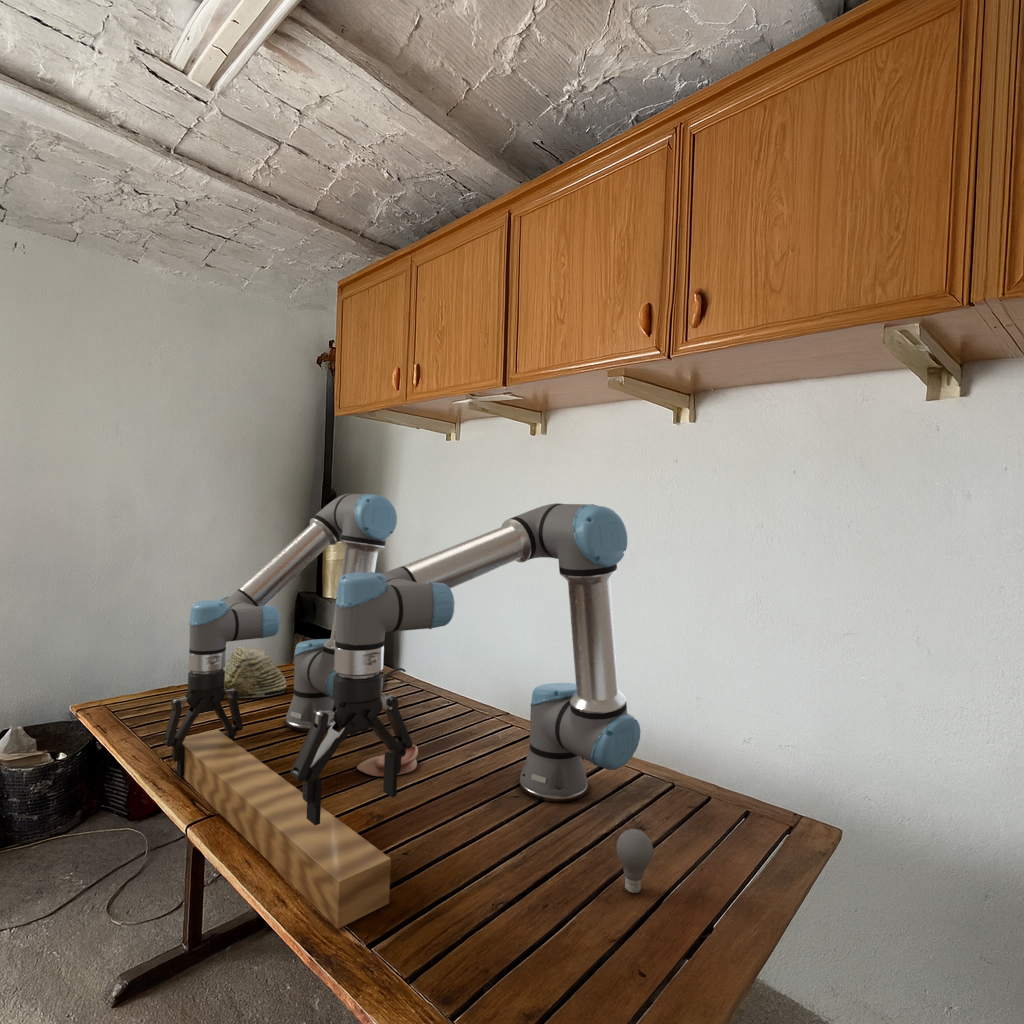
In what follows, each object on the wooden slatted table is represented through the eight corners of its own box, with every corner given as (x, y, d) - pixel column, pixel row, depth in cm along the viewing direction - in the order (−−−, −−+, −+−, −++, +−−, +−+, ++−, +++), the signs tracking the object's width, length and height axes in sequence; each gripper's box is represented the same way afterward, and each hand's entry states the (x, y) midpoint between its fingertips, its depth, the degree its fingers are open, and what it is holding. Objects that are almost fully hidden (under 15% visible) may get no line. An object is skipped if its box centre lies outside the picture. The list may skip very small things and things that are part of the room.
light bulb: (610, 879, 108) (613, 822, 108) (644, 879, 109) (647, 822, 109) (619, 902, 102) (622, 840, 102) (655, 901, 103) (658, 840, 103)
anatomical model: (351, 756, 145) (372, 738, 156) (350, 773, 145) (371, 754, 156) (406, 763, 142) (423, 744, 154) (405, 780, 143) (422, 760, 154)
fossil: (218, 695, 195) (220, 647, 195) (278, 685, 208) (279, 640, 207) (228, 703, 189) (230, 653, 188) (289, 692, 201) (290, 645, 201)
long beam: (175, 770, 143) (176, 738, 143) (216, 759, 150) (217, 729, 150) (337, 929, 93) (339, 881, 93) (389, 903, 100) (391, 858, 100)
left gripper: (159, 682, 133) (155, 788, 133) (261, 666, 148) (257, 761, 149) (148, 674, 138) (144, 776, 139) (248, 659, 154) (244, 751, 154)
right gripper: (294, 693, 87) (288, 845, 88) (436, 665, 105) (431, 791, 106) (270, 680, 93) (265, 824, 93) (409, 655, 110) (404, 776, 111)
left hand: (203, 768), depth 144 cm, fingers closed on long beam, 9 cm apart
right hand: (353, 807), depth 99 cm, fingers open, 13 cm apart
